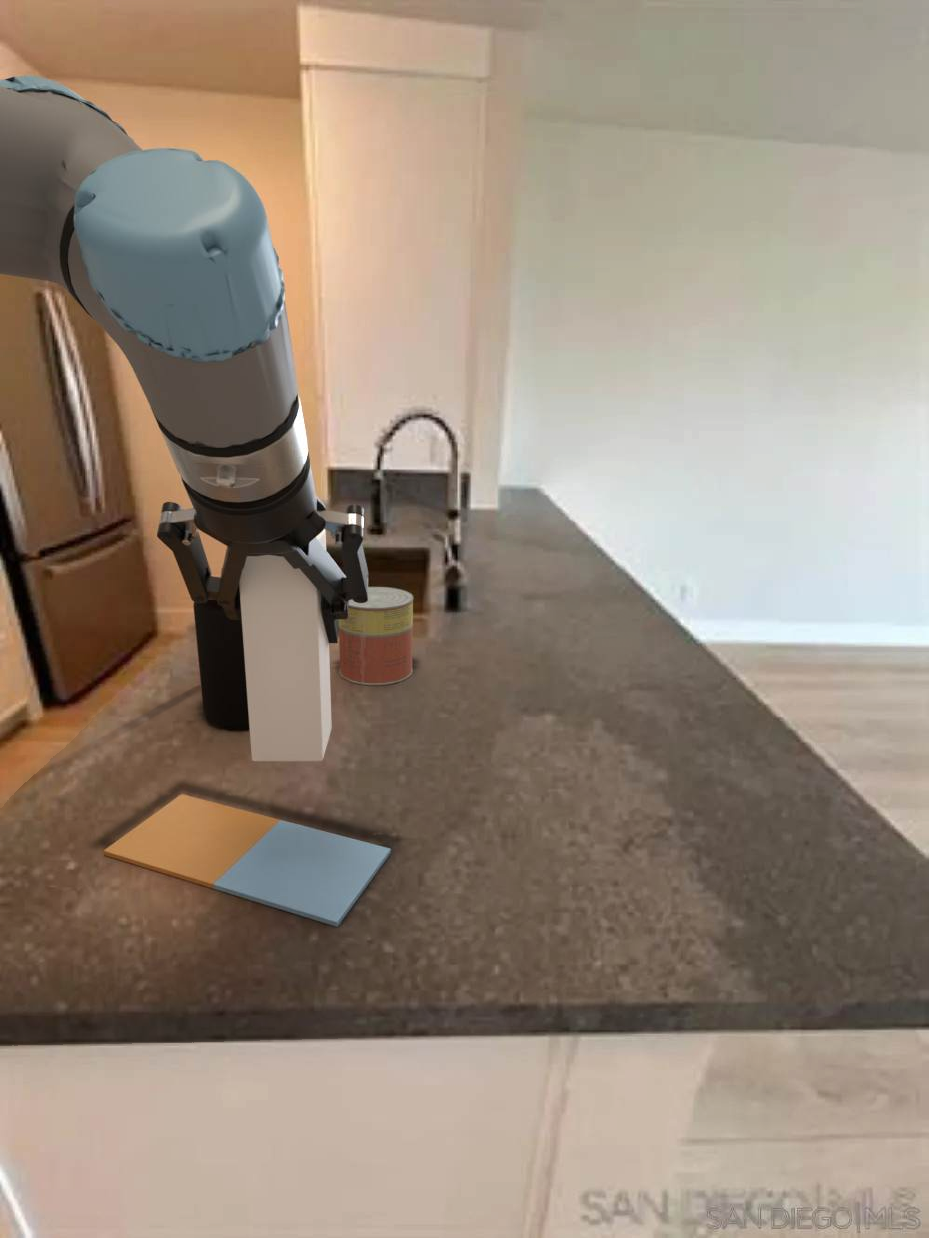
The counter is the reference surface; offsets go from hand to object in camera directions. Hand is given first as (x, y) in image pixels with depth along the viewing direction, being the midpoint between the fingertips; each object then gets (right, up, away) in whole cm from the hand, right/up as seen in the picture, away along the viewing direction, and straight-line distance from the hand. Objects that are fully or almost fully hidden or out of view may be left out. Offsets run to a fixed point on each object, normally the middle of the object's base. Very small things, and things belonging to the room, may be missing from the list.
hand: (294, 629), depth 60 cm
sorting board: (-5, -21, +2) cm, 21 cm away
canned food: (+1, -7, +44) cm, 45 cm away
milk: (0, -10, 0) cm, 10 cm away
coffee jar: (-14, -12, +29) cm, 34 cm away
